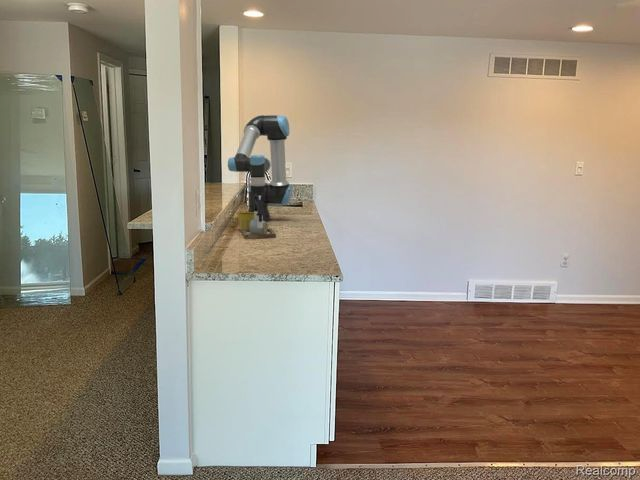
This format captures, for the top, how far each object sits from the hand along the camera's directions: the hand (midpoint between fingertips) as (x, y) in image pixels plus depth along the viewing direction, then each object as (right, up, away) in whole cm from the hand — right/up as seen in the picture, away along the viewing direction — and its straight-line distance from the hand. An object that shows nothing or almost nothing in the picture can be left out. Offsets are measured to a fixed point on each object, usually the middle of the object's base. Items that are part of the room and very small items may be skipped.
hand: (258, 225), depth 274 cm
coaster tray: (0, -5, +1) cm, 5 cm away
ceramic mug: (0, -5, +1) cm, 5 cm away
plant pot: (-8, -3, +16) cm, 18 cm away
